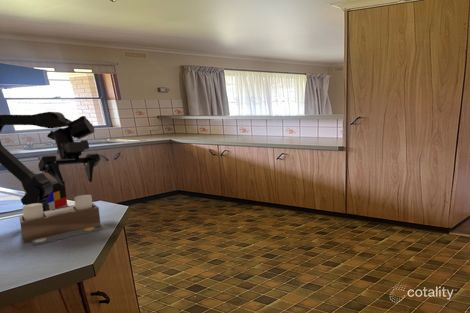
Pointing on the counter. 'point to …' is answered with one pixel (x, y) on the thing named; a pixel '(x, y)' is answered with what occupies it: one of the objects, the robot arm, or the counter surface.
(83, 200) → the beige cylinder
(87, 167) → the robot arm
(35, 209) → the unmarked button
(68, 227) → the button console
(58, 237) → the pattern card
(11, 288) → the counter surface
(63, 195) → the puzzle toy
